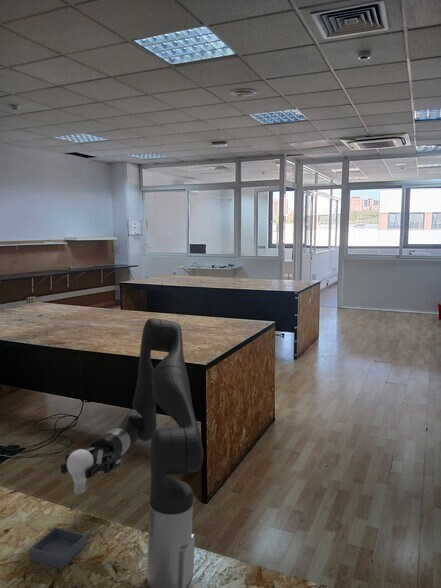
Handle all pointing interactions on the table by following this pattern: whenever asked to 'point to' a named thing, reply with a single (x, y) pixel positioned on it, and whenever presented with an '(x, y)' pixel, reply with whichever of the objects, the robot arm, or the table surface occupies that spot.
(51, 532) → the walled box
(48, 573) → the table surface
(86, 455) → the lightbulb
